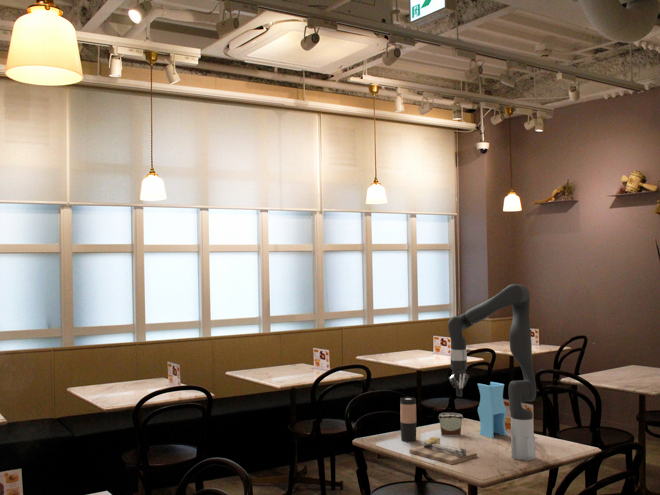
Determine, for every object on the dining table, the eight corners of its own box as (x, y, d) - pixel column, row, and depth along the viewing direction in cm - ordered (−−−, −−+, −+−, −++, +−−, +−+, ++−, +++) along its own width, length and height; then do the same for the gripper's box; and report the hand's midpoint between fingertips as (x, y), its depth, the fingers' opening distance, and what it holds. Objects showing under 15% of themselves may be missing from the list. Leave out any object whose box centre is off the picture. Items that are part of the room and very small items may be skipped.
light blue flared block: (492, 431, 331) (491, 381, 332) (507, 435, 322) (506, 384, 323) (478, 434, 326) (477, 383, 327) (492, 438, 317) (491, 386, 318)
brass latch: (440, 446, 296) (440, 437, 296) (430, 449, 291) (429, 440, 292) (434, 445, 299) (434, 436, 299) (423, 448, 294) (423, 439, 294)
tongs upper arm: (462, 452, 282) (462, 450, 282) (458, 453, 281) (459, 451, 281) (427, 443, 298) (427, 440, 298) (423, 444, 296) (423, 441, 296)
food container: (462, 432, 329) (462, 412, 329) (463, 435, 323) (463, 415, 323) (437, 432, 330) (437, 412, 331) (438, 435, 324) (438, 414, 324)
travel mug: (398, 440, 314) (397, 398, 315) (403, 437, 321) (403, 396, 322) (413, 442, 311) (413, 400, 311) (418, 438, 317) (418, 397, 318)
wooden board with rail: (476, 456, 285) (476, 446, 286) (451, 464, 274) (451, 454, 275) (434, 446, 304) (434, 436, 304) (409, 452, 293) (409, 443, 293)
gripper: (461, 356, 312) (461, 393, 311) (443, 359, 303) (443, 397, 303) (474, 358, 306) (474, 395, 305) (455, 360, 298) (456, 399, 297)
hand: (459, 396), depth 304 cm, fingers closed
